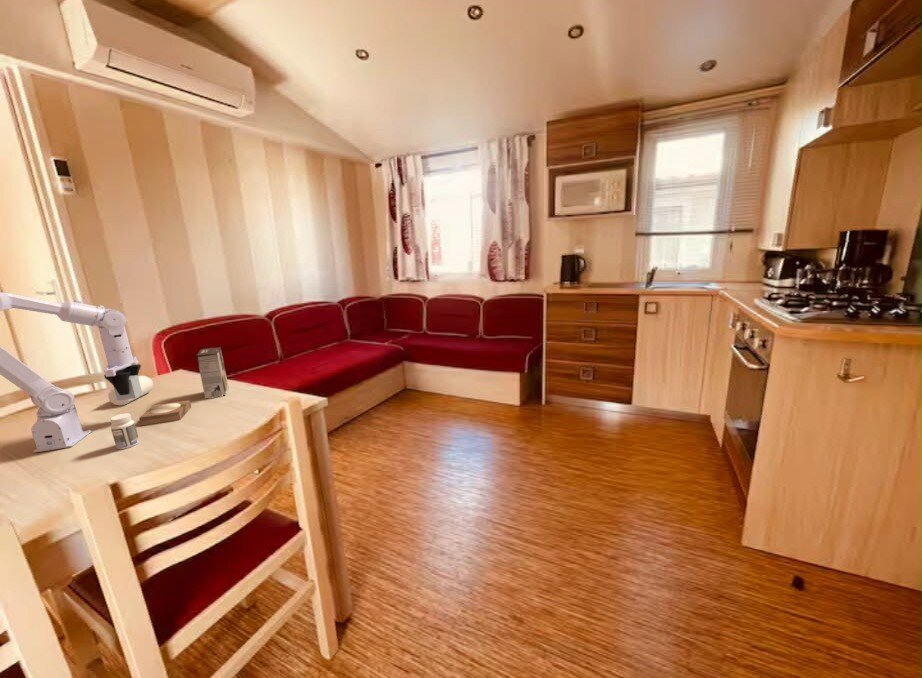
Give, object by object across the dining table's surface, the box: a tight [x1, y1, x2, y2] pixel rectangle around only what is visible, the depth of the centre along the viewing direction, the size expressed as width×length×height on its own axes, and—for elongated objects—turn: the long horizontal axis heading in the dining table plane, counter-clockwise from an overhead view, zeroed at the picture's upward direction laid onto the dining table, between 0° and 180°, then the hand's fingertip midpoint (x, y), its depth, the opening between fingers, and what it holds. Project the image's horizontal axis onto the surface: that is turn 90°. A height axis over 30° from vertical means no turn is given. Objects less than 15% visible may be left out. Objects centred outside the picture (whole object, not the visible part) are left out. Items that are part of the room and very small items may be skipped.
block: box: [113, 374, 142, 401], centre depth 114 cm, size 4×4×6 cm
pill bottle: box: [110, 412, 140, 450], centre depth 99 cm, size 5×5×8 cm
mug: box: [108, 375, 154, 406], centre depth 131 cm, size 10×7×12 cm
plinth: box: [138, 399, 192, 426], centre depth 117 cm, size 10×10×3 cm
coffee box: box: [196, 346, 229, 400], centre depth 133 cm, size 9×6×16 cm
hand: (128, 391), depth 114 cm, fingers closed on block, 4 cm apart
